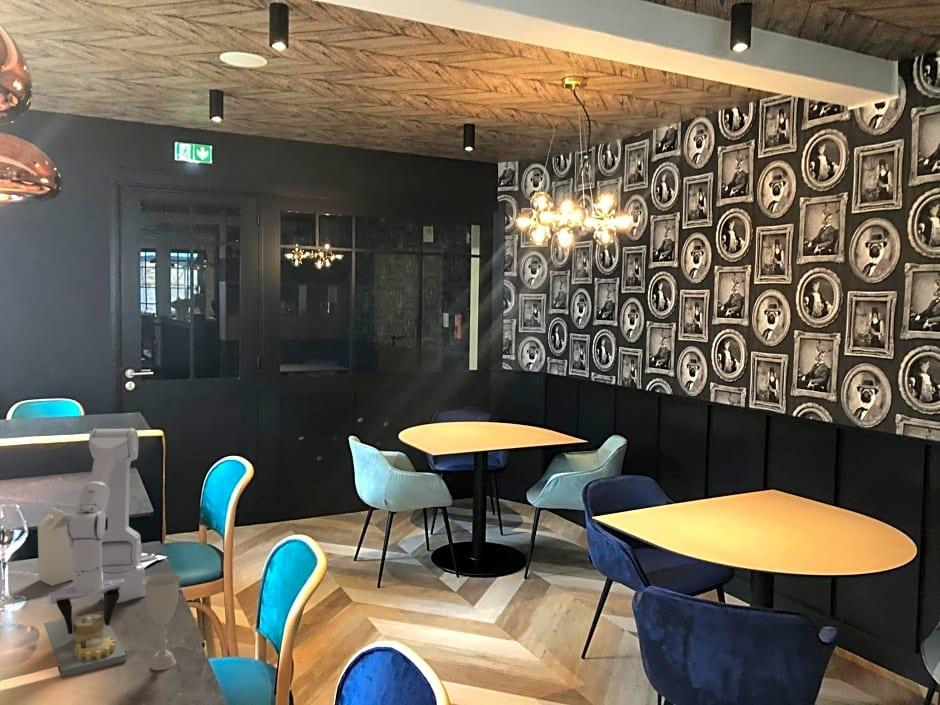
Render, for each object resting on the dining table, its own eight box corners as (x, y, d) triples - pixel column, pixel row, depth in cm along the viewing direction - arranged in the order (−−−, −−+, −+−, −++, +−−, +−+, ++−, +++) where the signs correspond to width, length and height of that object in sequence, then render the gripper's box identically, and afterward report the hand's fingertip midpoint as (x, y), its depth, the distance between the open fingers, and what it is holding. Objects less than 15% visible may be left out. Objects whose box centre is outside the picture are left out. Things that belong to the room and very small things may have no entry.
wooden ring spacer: (100, 629, 166) (100, 612, 166) (105, 639, 162) (104, 621, 161) (72, 636, 163) (71, 618, 162) (76, 646, 158) (76, 628, 158)
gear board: (102, 616, 176) (101, 591, 176) (126, 661, 155) (125, 633, 155) (44, 629, 169) (43, 603, 169) (61, 677, 148) (60, 648, 148)
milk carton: (66, 572, 203) (64, 504, 202) (79, 578, 199) (77, 509, 198) (38, 580, 198) (36, 510, 196) (51, 586, 194) (49, 515, 192)
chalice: (145, 675, 150) (143, 588, 148) (142, 660, 156) (141, 577, 154) (183, 667, 153) (182, 582, 152) (180, 653, 159) (178, 571, 158)
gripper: (51, 580, 153) (53, 643, 155) (127, 566, 162) (128, 626, 163) (47, 569, 159) (48, 631, 160) (120, 556, 168) (121, 615, 169)
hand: (88, 628), depth 162 cm, fingers open, 7 cm apart
